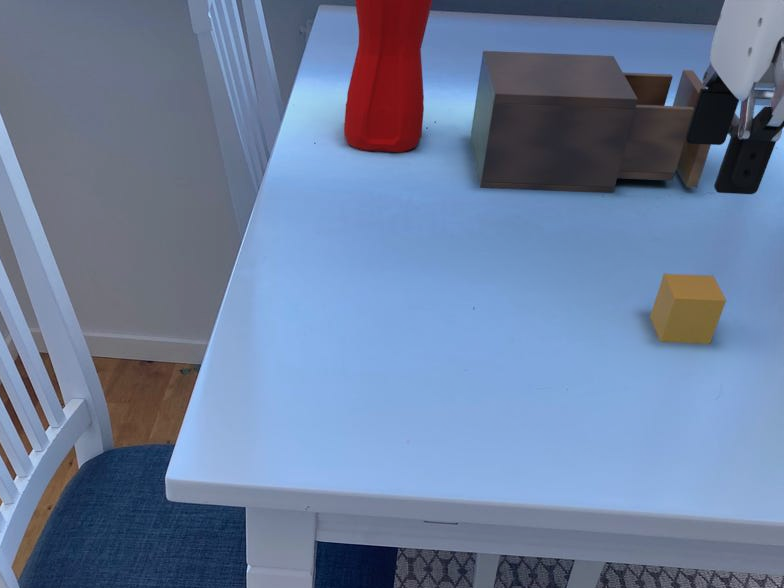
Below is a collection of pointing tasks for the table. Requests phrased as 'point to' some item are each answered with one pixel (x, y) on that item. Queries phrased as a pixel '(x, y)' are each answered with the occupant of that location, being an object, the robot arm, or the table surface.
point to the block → (687, 308)
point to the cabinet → (550, 121)
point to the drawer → (664, 130)
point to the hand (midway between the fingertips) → (718, 166)
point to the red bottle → (387, 76)
